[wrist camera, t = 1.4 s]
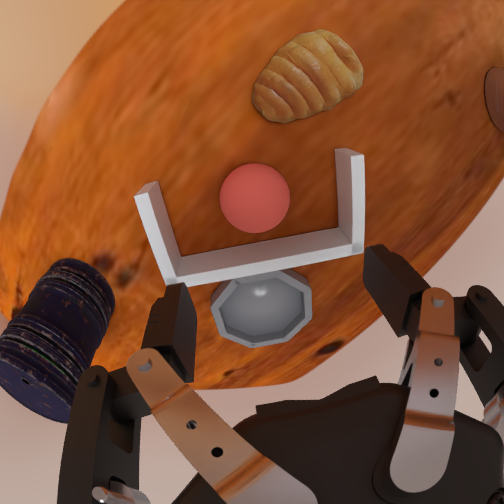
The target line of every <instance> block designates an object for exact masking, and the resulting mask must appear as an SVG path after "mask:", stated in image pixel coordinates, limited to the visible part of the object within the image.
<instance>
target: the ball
mask: <svg viewBox="0 0 504 504" xmlns="http://www.w3.org/2000/svg"><path fill="white" fill-rule="evenodd" d="M289 204H290V192H289V188H288V185H287V183H286V181H285V179H284V178H283V177H282V175H281V174H280V173H279V172H277V171H276V170H275V169H273V168H272V167H270V166H267V165H264V164H259V163H251V164H246V165H243V166H240V167H238V168H236V169H235V170H233V171H232V172H231V173H230V174H229V175H228V176H227V177H226V179H225V180H224V182H223V184H222V187H221V190H220V206H221V209H222V212H223V214H224V216H225V217H226V219H227V220H228V221H229V222H230V223H231V224H232V225H233V226H234V227H236V228H238V229H239V230H242V231H244V232H249V233H260V232H265V231H268V230H270V229H272V228H274V227H275V226H277V225H278V224H279V223H280V222H281V221H282V220H283V218H284V217H285V215H286V213H287V211H288V208H289Z"/></svg>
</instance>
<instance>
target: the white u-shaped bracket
mask: <svg viewBox="0 0 504 504" xmlns="http://www.w3.org/2000/svg"><path fill="white" fill-rule="evenodd" d="M334 150H335V162H336V177H337V196H338V228H332V229H327V230H321V231H316V232H310V233H305V234H299V235H294V236H289V237H283V238H278V239H272V240H267V241H262V242H257V243H251V244H246V245H241V246H235V247H230V248H225V249H220V250H214V251H209V252H204V253H199V254H194V255H189V256H183V257H181V255H180V252H179V249H178V246H177V243H176V239H175V236H174V233H173V230H172V227H171V224H170V220H169V217H168V214H167V210H166V207H165V204H164V200H163V197H162V193H161V190H160V186H159V183H158V181H154V182H151V183H147V184H145V185H144V186H143V187H142V188H141V189H140V190H139V191H138V192H137V193H136V195H135V196H134V198H135V201H136V204H137V207H138V210H139V213H140V216H141V219H142V222H143V225H144V228H145V231H146V234H147V237H148V240H149V242H150V245H151V248H152V250H153V253H154V256H155V258H156V261H157V264H158V266H159V269H160V271H161V274H162V276H163V279H164V281H165V284H166V286H167V285H170V284H176V283H181V282H184V283H185V284H186V286H187V287H190V286H195V285H201V284H207V283H212V282H218V281H224V280H229V279H234V278H240V277H245V276H251V275H256V274H261V273H266V272H272V271H277V270H282V269H287V268H292V267H297V266H302V265H307V264H312V263H317V262H322V261H327V260H332V259H337V258H341V257H346V256H351V255H356V254H360V253H363V251H364V229H365V168H364V155H363V154H361V153H358V152H356V151H353V150H351V149H348V148H339V149H334Z"/></svg>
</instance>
